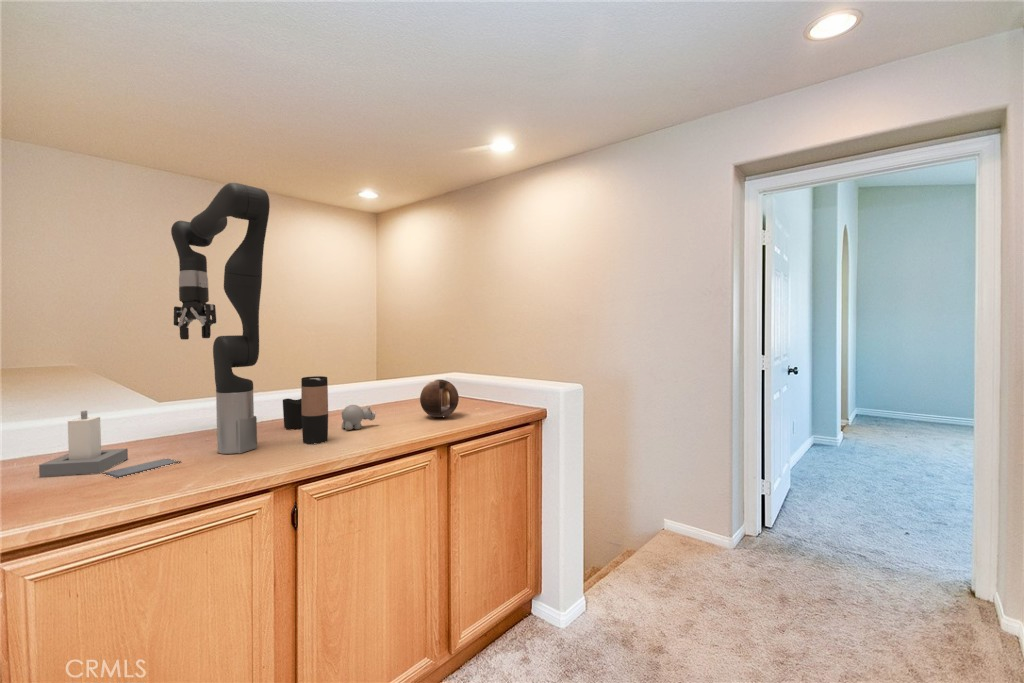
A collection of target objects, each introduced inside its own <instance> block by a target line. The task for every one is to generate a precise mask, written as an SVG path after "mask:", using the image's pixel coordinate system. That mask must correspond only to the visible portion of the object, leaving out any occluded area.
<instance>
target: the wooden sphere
mask: <svg viewBox="0 0 1024 683" xmlns="http://www.w3.org/2000/svg"><path fill="white" fill-rule="evenodd" d="M459 400H460V398H459V393H458V389H457V388H456V387H455V385H454V384H453V383H451V382H450V381H449V380H446V379H433V380H432V381H429V382H428V383H426V385H425V386H423V388H422V390H421V392H420V396H419V403H420V406H421V408H422V410H423V412H424V413H426V414H427V415H428V416H430V417H432V416H433V417H432V418H435V417H443V416H446V417H448V416H450V415H452V414H453V413H454V411H455V410H456V409H457V407H458V404H459ZM443 418H444V417H443Z"/></svg>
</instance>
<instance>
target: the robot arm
mask: <svg viewBox="0 0 1024 683" xmlns="http://www.w3.org/2000/svg"><path fill="white" fill-rule="evenodd" d="M269 216H270V197H269V194H268V192H267V191H266V190H264V189H262V188H259V187H255V186H250V185H247V184H242V183H238V182H228V183H227V184H225V185H224V186H223V187H222V188H220V190H219V191H218V192H217V194H216V195H215V196H214V198H213V199H212V200H211V202H210V203H209V204H208V205H207V207H206V208H205V209H204V210H203V211H201V212H200V213H198V214H196V216H194V217H192V219H191V220H190V221H185V220H178V221H175V222H174V223H173V224H172V226H171V228H170V229H171V230H170V232H171V233H170V234H171V238H172V241H173V243H174V245H175V249H176V252H177V256H178V259H179V264H178V265H179V275H178V296H179V297H178V298H179V299H178V300H179V302H181V303H182V304H181V305H182V306H174V307H173V326H176V327H178V328H179V337H180V340H184V341H185V340H189V338H190V335H189V334H190V332H189V327H190V326H189V325H190V324H191V323H192V322H193V321H195V320H197V321H199V322H200V324H201V338H202V339H210V338H211V334H212V333H211V326H212V325H214V324H217V312H216V310H217V309H216V305H215V304H213V303H208V302H210V297H209V296H210V294H209V278H208V262H207V257H206V256H205V254H202V253H200V252H197V251H195V250H193V249H192V247H191V246H193V247H200V248H206V247H209V246H210V245H211V244H212V242H213V240H214V238H215V236H217V235H218V234H221V233H222V232H223V231H224V230H225V229H226V227H227V226H228V217H231V218H235V219H240V220H245V221H248V223H247V224H248V225H247V229H246V233H245V236H244V238H243V240H242V241H241V243H240V244H239V246H237V248H236V249H235V250H234V251H233V253H232V254H231V255H230V256H229V257H228V260H227V261H226V262H225V265H224V273H223V274H224V275H223V290H224V293H225V295H226V297H227V298H228V300H229V302H230V304H232V306H233V308H234V310H235V311H236V313H237V314H238V316H239V318H240V321H241V326H242V334H241V335H240V334H239V335H235V334H234V335H219V336H217V337H216V338H215V339H214V341H213V345H212V355H213V356H212V358H213V367H214V368H213V369H214V382H215V383H214V384H215V396H216V397H215V398H216V399H215V400H216V403H215V406H216V442H217V443H216V445H217V448H216V449H217V450H216V451H217V453H218V454H224V455H229V454H230V455H231V454H243V453H245V452H249V451H252V450H255V449H258V433H257V432H258V426H257V425H258V424H257V422H258V419H257V416H256V415H254V414H255V411H254V410H255V408H254V406H255V405H254V404H255V403H254V382H253V380H251V379H249V378H244V377H240V376H238V375H236V374H235V373H234V372H233V369H232V368H246V367H253V366H255V365H256V364H257V363H258V360H259V357H260V307H261V306H260V304H261V294H262V293H261V292H262V281H263V261H264V248H265V239H266V233H267V228H268V222H269Z"/></svg>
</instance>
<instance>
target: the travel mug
mask: <svg viewBox="0 0 1024 683" xmlns="http://www.w3.org/2000/svg"><path fill="white" fill-rule="evenodd" d="M300 383H301V384H300V386H301V388H300V389H301V397H300V399H301V402H302V429H301V431H302V432H301V433H302V443H303V444H304V443H307V444H306V445H315V444H314V443H319V444H322V443H321V442H324V443H326V442H328V440H329V439H328V438H329V436H328V435H329V392H328V391H329V390H328V386H329V385H328V384H329V383H328V377H327V376H323V375H322V376H320V375H317V376H314V375H313V376H304V377H301V381H300ZM325 441H326V442H325Z"/></svg>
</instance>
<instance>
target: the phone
mask: <svg viewBox="0 0 1024 683" xmlns="http://www.w3.org/2000/svg"><path fill="white" fill-rule="evenodd" d="M174 460H175V461H174ZM178 462H181V463H182V461H180V460H177V461H176V459H172V460H171V458H167V459H165V458H162V459H157V460H152V461H148V462H145V463H140V464H136V465H132V466H128V467H123V468H119V469H115V470H114V469H113V470H109V471H104V472H101V475H102V474H106V475H110V476H113V477H116V478H115V479H117V478H118V479H120V478H119V477H122V478H124V477H123V476H126V477H128V476H127V475H130V476H132V475H131V474H134V475H136V474H135V473H138V474H141V473H140V472H142V473H144V472H143V471H146V472H148V471H147V470H150V471H152V470H151V469H154V470H156V469H155V468H158V467H161V466H165V465H170V464H173V463H178ZM178 464H179V463H178ZM170 466H171V465H170ZM158 469H159V468H158ZM106 475H105V476H106ZM113 477H112V478H113Z"/></svg>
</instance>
